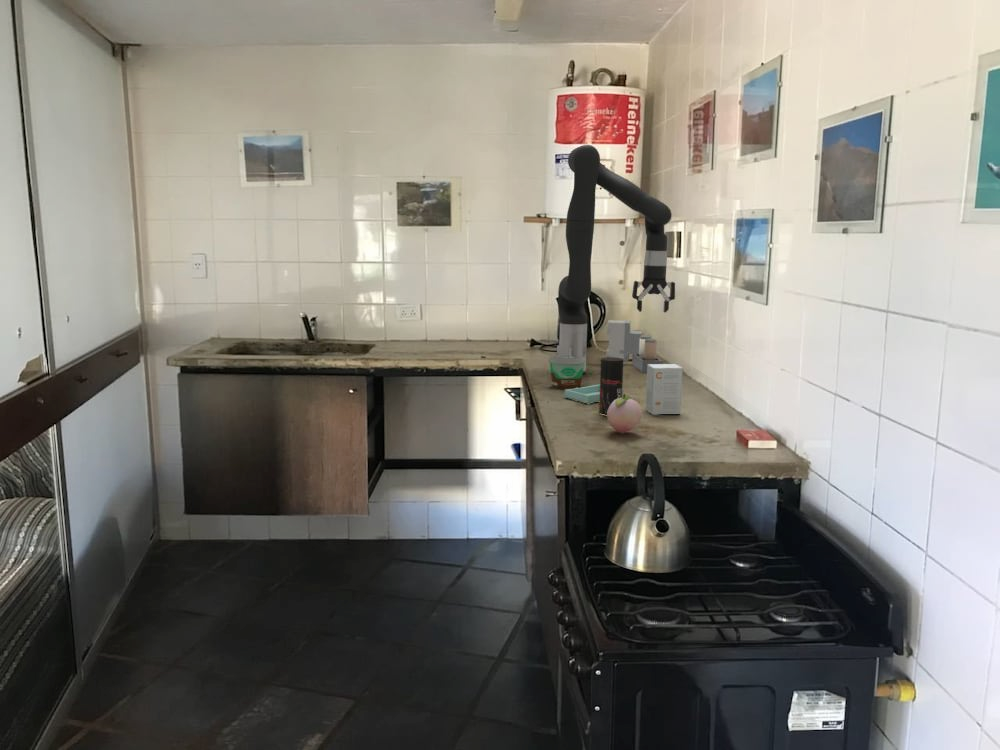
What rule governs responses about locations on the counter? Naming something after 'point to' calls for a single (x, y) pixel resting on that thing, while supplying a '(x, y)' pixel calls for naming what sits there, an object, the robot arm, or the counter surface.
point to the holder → (639, 358)
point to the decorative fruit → (624, 414)
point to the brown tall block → (650, 349)
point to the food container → (566, 371)
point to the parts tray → (585, 394)
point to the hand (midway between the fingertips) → (652, 311)
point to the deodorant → (610, 382)
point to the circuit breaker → (622, 340)
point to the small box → (664, 388)
